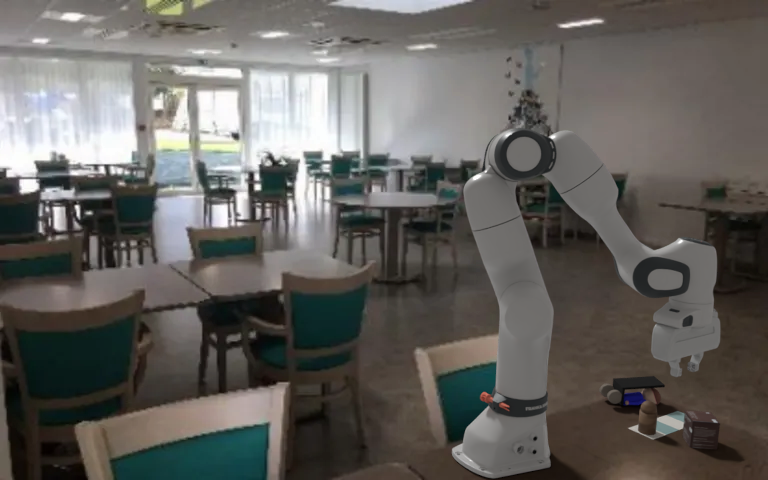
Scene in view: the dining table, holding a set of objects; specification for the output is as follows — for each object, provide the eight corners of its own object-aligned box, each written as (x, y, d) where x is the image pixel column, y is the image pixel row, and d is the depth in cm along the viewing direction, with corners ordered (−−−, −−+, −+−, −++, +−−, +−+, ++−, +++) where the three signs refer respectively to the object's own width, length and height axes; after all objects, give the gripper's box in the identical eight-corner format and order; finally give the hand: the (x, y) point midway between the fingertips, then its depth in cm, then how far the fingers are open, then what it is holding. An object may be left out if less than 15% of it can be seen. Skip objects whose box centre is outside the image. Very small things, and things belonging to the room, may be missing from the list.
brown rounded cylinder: (648, 436, 156) (651, 405, 155) (634, 430, 159) (636, 400, 158) (659, 432, 158) (662, 402, 157) (644, 426, 161) (647, 396, 160)
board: (652, 442, 155) (653, 439, 154) (627, 431, 160) (627, 428, 160) (702, 423, 165) (703, 420, 165) (677, 413, 171) (677, 410, 171)
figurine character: (610, 417, 172) (666, 409, 173) (609, 389, 171) (665, 381, 172) (599, 406, 179) (653, 399, 180) (598, 379, 177) (652, 372, 179)
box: (681, 439, 157) (684, 409, 156) (708, 441, 156) (711, 411, 155) (689, 451, 151) (692, 420, 150) (717, 453, 150) (720, 422, 149)
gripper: (704, 303, 152) (698, 361, 154) (648, 314, 141) (643, 377, 143) (731, 309, 147) (724, 369, 149) (675, 322, 136) (669, 386, 138)
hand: (684, 373), depth 146 cm, fingers open, 5 cm apart
